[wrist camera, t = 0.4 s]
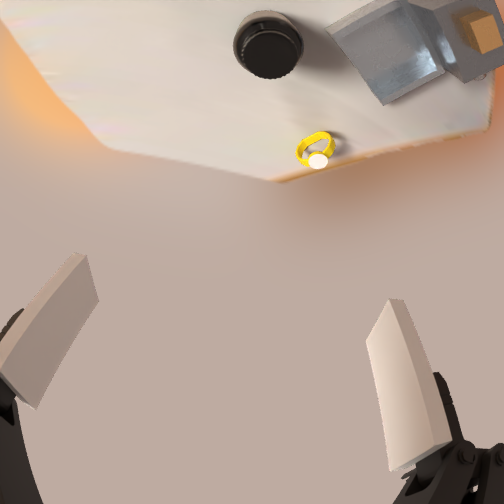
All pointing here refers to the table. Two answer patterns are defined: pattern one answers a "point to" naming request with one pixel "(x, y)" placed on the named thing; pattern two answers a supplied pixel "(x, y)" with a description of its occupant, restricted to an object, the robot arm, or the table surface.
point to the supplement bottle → (268, 44)
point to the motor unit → (420, 42)
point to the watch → (316, 158)
